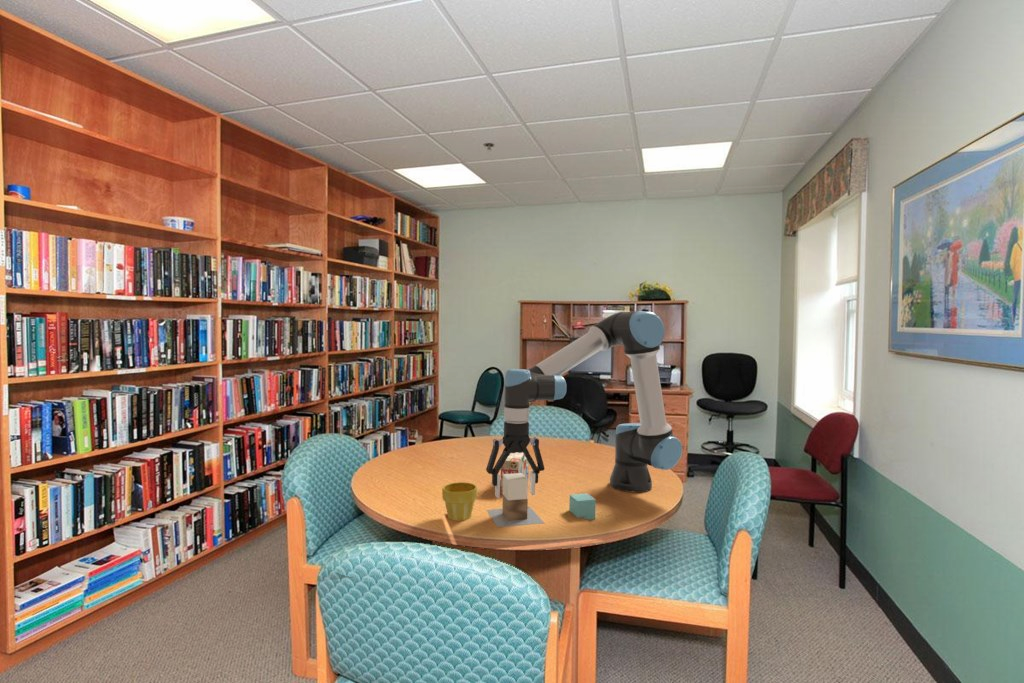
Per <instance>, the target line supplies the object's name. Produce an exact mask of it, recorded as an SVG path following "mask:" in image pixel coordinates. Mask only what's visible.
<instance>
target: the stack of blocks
mask: <svg viewBox="0 0 1024 683" xmlns="http://www.w3.org/2000/svg"><path fill="white" fill-rule="evenodd" d="M529 466H530V464H529V462H528V461H527V459H526V457H525V455H524V454H523V452H522V453H518V452H516V453H510V455H509V456H508V457H507V459H506V461H505V462H504V464H503V466H502V468H501V469H500V496H503V474H515V473H522V474H523V475H524V476H525V477H527V478H528V479H529V474H530V472H529V468H530V467H529Z"/></svg>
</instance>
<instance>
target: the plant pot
mask: <svg viewBox="0 0 1024 683" xmlns="http://www.w3.org/2000/svg"><path fill="white" fill-rule="evenodd" d="M441 491H442V493H441V494H442V500H443V501H444V504H445V508H446V513H447V518H448V519H450V520H452V521H461V522H462V521H467V520H469V519H471V518H472V515H473V512H474V510H473V509H474V505H475V501H476V500H477V498H478V487H477V485H476V484H475V483H471V482H467V481H465V482H464V481H463V482H462V481H458V482H457V481H456V482H449V483H447V484H445V485H443V486H442V489H441Z"/></svg>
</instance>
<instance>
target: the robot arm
mask: <svg viewBox="0 0 1024 683" xmlns="http://www.w3.org/2000/svg"><path fill="white" fill-rule="evenodd" d="M665 332H666V330H665V325H664V323H663V321H662V319H661V318H660V316H659V315H657V314H656V313H655V312H652V311H646V310H637V311H636V310H635V311H619V312H616V313H613V314H611V315H609V316H607V317H606V318H603V319H602V320H600V321H598V322H597V323H596V324H594V325H592V326H591V327H590V328H589V329H588V332H587V333H585V334H583V335H581V336H580V337H579V338H577V339H575V340H573V341H572V342H570V343H569V344H568V345H566V346H564V347H562V348H561V349H559V350H558V351H556V352H554V353H553V354H551V355H550V356H548V357H546V358H545V359H544V360H541V361H540V362H539V363H537V364H535V365H534V366H532V367H530V368H529V369H522V368H510V369H507V370H506V372H505V374H504V383H503V385H504V408H503V409H504V410H503V420H504V422H503V437H502V439H496V438H494V439H492V449H491V452H490V456H489V458H488V462H487V465H486V468H485V471H486V472H487V474H489V475H491V484H492V485H493V487H495V488H494V496H495V497H496V498H497V499H499V498H500V497H501V495H500V486H501V474H499V472H501V468H502V466H503V464H504V462H505V461H506V459H507V457H508V456H509V455H510V453H516V452H518V453H523V454H524V455H525V457H526V459H527V461H528V463H529V466H530V468H531V469H532V471H531V470H530V472H529V493H530V494H531V496H535V495H536V484H538V482H539V474H540V472H542V471H543V472H544V471H545V465H544V461H543V457H542V453H541V450H540V439H538V438H537V437H530V436H529V435H530V423H529V420H530V407H531V406H530V403H531V401H533V402H534V401H556V400H562V399H564V397H565V396H566V394H567V382H566V379H565V378H564V377H563V376H562V375H564V374H566V373H567V372H569V371H570V370H572V369H574V368H575V367H576V366H578V365H579V364H581V363H582V362H585V361H586V360H587V359H589V358H591V357H592V356H594V355H596V354H597V353H599V352H600V351H603V352H605V351H607V350H608V349H610V348H612V347H616V346H622V347H623V351H624V355H626V357H628V358H629V361H630V367H631V371H632V372H631V373H632V379H633V384H634V391H635V392H634V393H635V399H636V404H637V410H638V416H639V422H636V423H633V422H631V423H630V422H629V423H621V424H618V425H616V429H615V434H614V435H615V444H614V445H615V447H614V448H615V449H614V450H615V451H614V452H615V453H614V454H615V455H614V466H613V468H612V472H611V474H610V478H609V486H610V485H611V486H610V487H612V488H613V489H615V488H616V489H615V490H618V489H619V491H622V490H624V491H623V492H628V491H635V492H634V493H639V492H638V491H644V492H648V491H650V490H652V486H653V481H652V477H651V474H650V471H649V467H648V466H651V467H653V468H655V469H657V470H658V469H659V470H662V471H663V470H664V471H665V470H667V471H669V470H670V469H673V468H674V467H675V466H676V465H677V464H678V463H679V460H680V459H681V457H682V454H683V444H682V442H681V440H680V439H678V437H676V436H674V432H673V427H672V425H670V424H669V423H668V422H667V418H666V411H665V405H664V399H663V392H662V391H663V390H662V385H661V378H660V372H659V365H658V357H657V354H658V352H659V351H660V350H661V346H660V345H661V344H662V342H663V339H664V338H665V335H666V334H665ZM502 444H503V446H504V448H503V450H502V452H501V455H500V457H499V458H498V460H497V457H498V453H499V451H500V448H501V446H502ZM529 444H530V445H531V446H532V450H533V453H534V456H535V461H536V463H537V465H536V463H535V461H534V459H533V458H532V456H531V454H530V451H529V450H528V448H527V447H528V446H529ZM496 460H497V461H496ZM647 490H648V491H647Z"/></svg>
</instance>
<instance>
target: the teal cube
mask: <svg viewBox="0 0 1024 683" xmlns="http://www.w3.org/2000/svg"><path fill="white" fill-rule="evenodd" d="M596 501H597V500H596V498H594V497H593V496H592V495H590V494H589V493H588V492H587V493H586V492H585V493H575V494H573V493H572V494H569V502H568V503H569V504H568V505H569V508H568V510H569V511H568V512H570V513H571V514H572V515H574V517H575V518H584V519H585V520H587V521H589V519H590V520H595V519H596V512H597V511H596V510H597V509H596V506H597V505H596Z"/></svg>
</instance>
